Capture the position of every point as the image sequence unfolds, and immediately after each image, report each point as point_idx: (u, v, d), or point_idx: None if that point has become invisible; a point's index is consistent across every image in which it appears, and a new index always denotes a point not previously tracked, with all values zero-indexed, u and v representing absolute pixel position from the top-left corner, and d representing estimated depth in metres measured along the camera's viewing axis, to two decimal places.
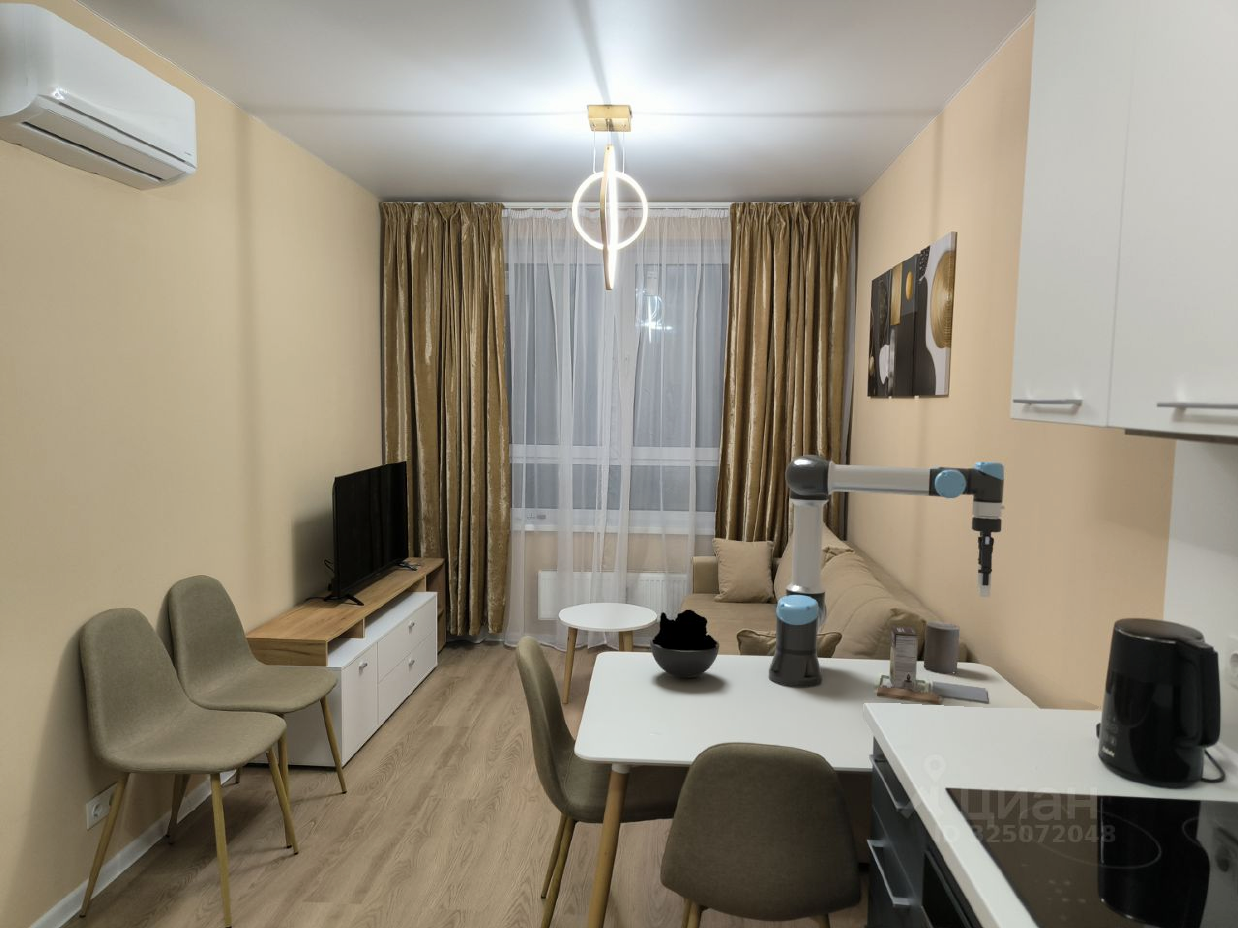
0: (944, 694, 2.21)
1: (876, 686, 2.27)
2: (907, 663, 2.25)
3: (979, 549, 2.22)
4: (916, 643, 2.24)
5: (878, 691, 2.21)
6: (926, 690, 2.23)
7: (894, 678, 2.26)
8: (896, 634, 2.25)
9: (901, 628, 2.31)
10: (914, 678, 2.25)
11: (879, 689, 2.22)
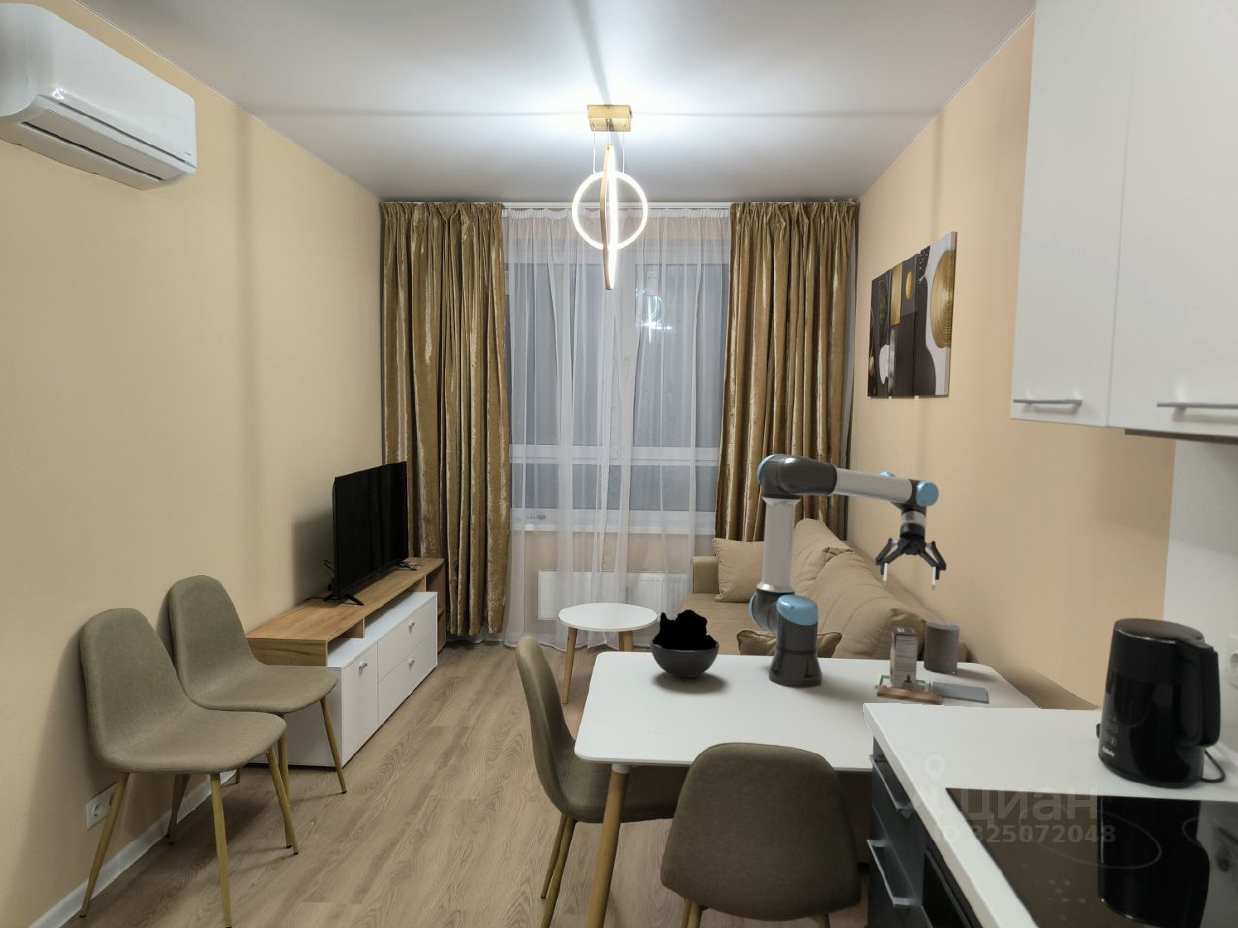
0: (944, 694, 2.21)
1: (876, 686, 2.27)
2: (907, 663, 2.25)
3: (924, 549, 2.43)
4: (917, 643, 2.24)
5: (878, 691, 2.21)
6: (926, 690, 2.23)
7: (894, 678, 2.26)
8: (896, 634, 2.25)
9: (901, 628, 2.31)
10: (914, 678, 2.25)
11: (879, 689, 2.22)
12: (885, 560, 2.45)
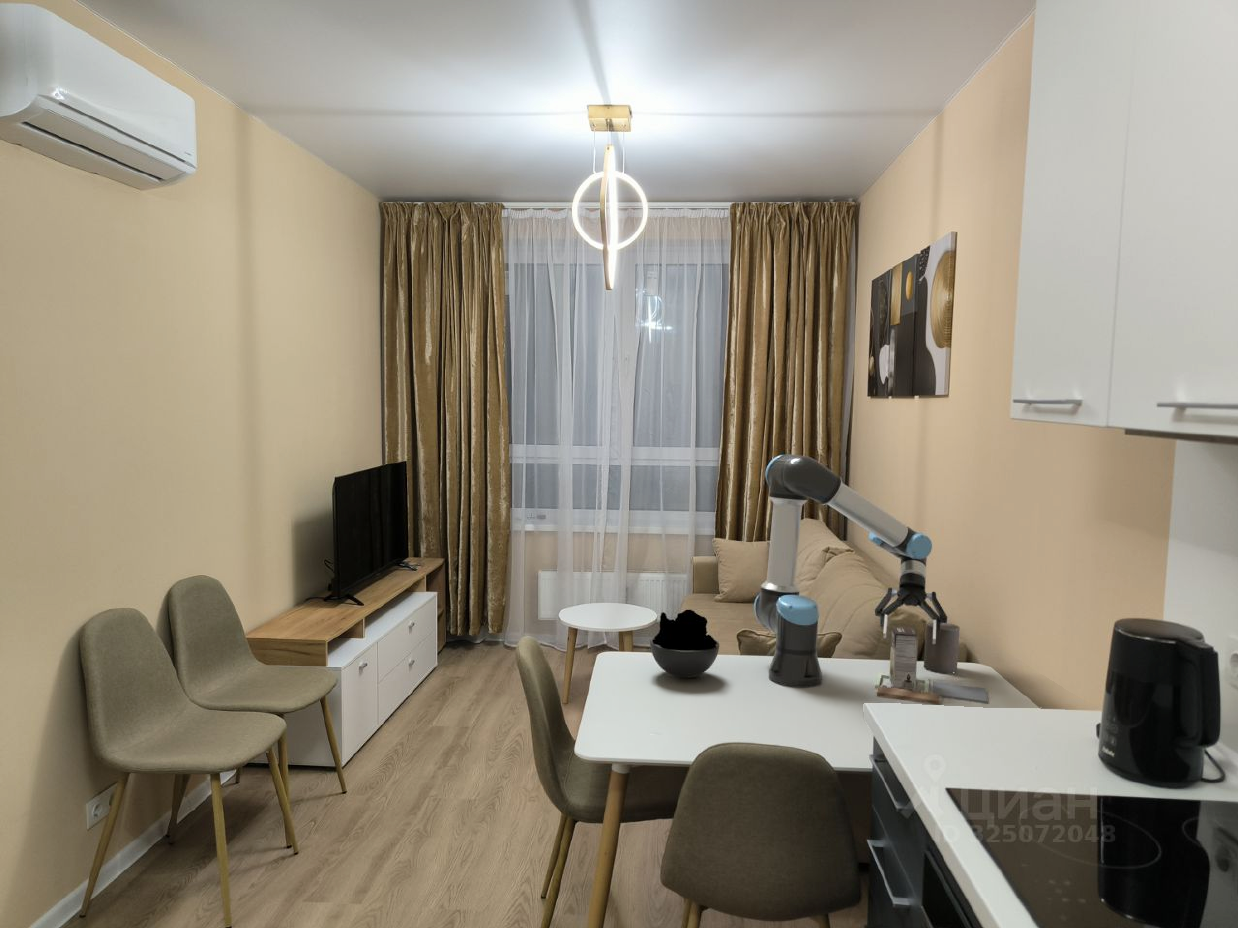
0: (944, 694, 2.21)
1: (876, 686, 2.27)
2: (907, 663, 2.25)
3: (924, 600, 2.39)
4: (917, 643, 2.24)
5: (878, 691, 2.21)
6: (926, 690, 2.23)
7: (894, 678, 2.26)
8: (896, 634, 2.25)
9: (901, 628, 2.31)
10: (914, 678, 2.25)
11: (879, 689, 2.22)
12: (885, 611, 2.41)
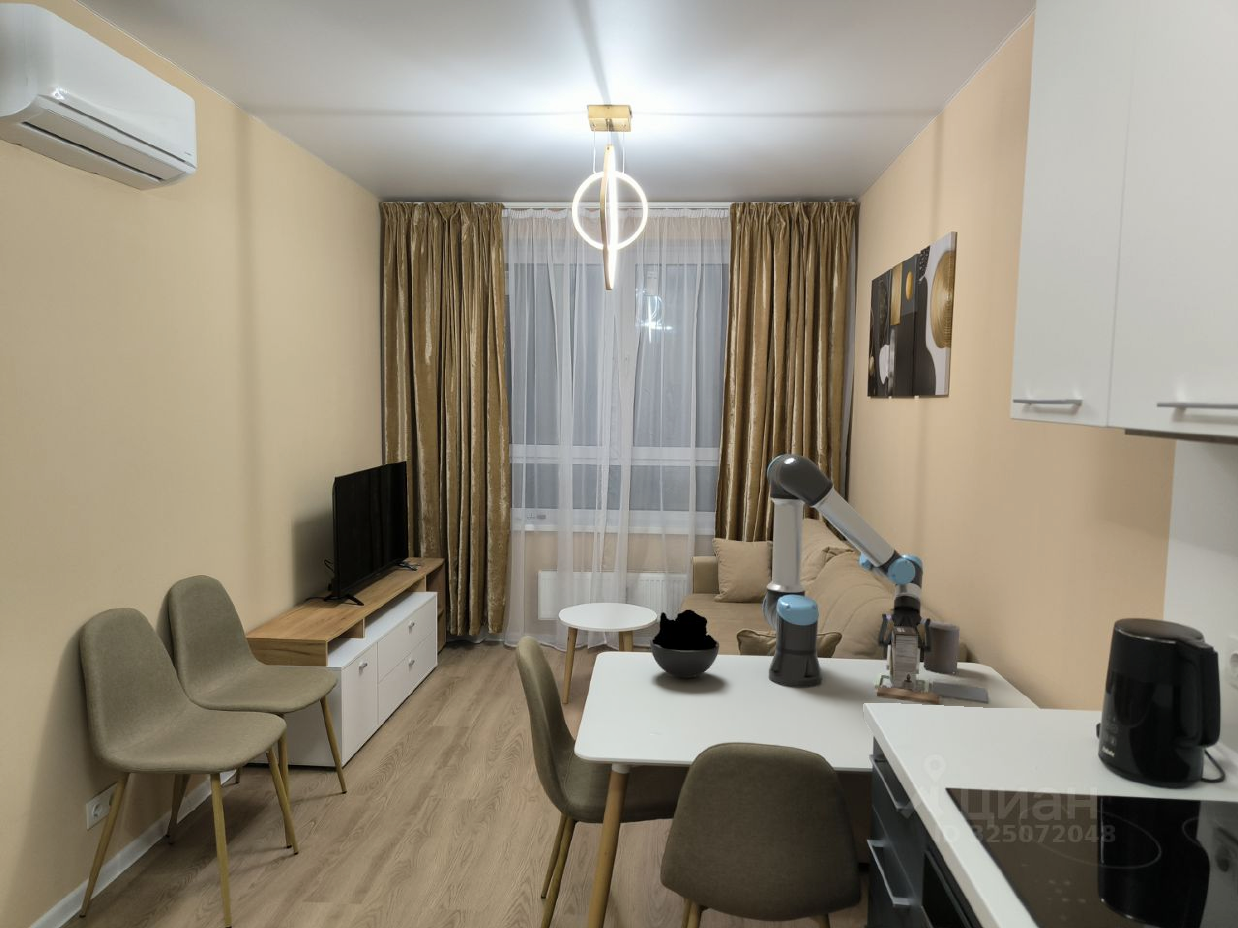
0: (944, 694, 2.21)
1: (876, 686, 2.27)
2: (907, 663, 2.25)
3: (915, 626, 2.32)
4: (916, 643, 2.24)
5: (878, 691, 2.21)
6: (926, 690, 2.23)
7: (894, 678, 2.26)
8: (896, 634, 2.25)
9: (901, 628, 2.31)
10: (914, 678, 2.25)
11: (879, 689, 2.22)
12: (888, 641, 2.32)
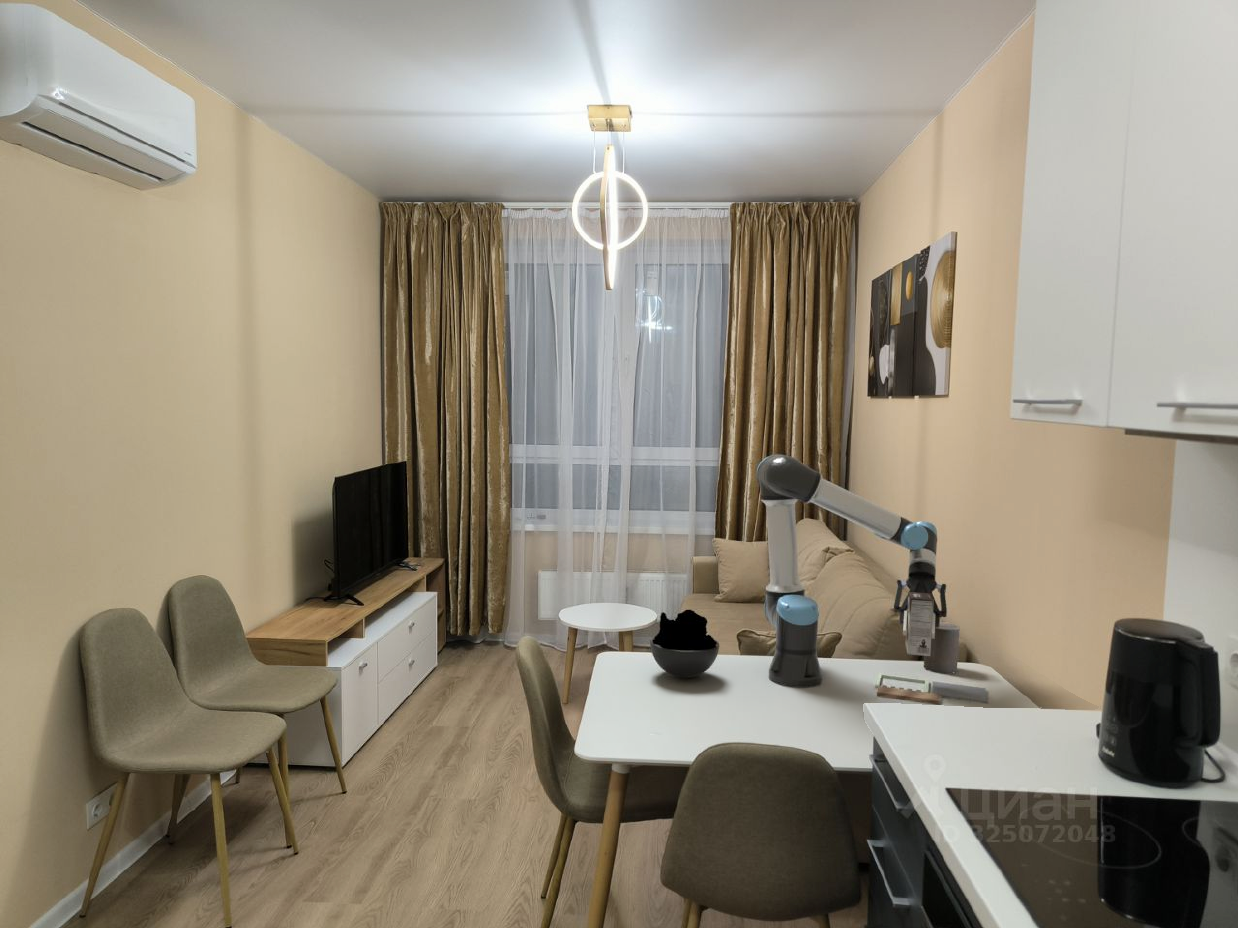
0: (944, 694, 2.21)
1: (876, 686, 2.27)
2: (922, 628, 2.23)
3: (931, 591, 2.31)
4: (932, 608, 2.23)
5: (878, 691, 2.21)
6: (926, 690, 2.23)
7: (909, 643, 2.25)
8: (911, 599, 2.24)
9: (917, 594, 2.29)
10: (929, 643, 2.23)
11: (879, 689, 2.22)
12: (904, 607, 2.30)
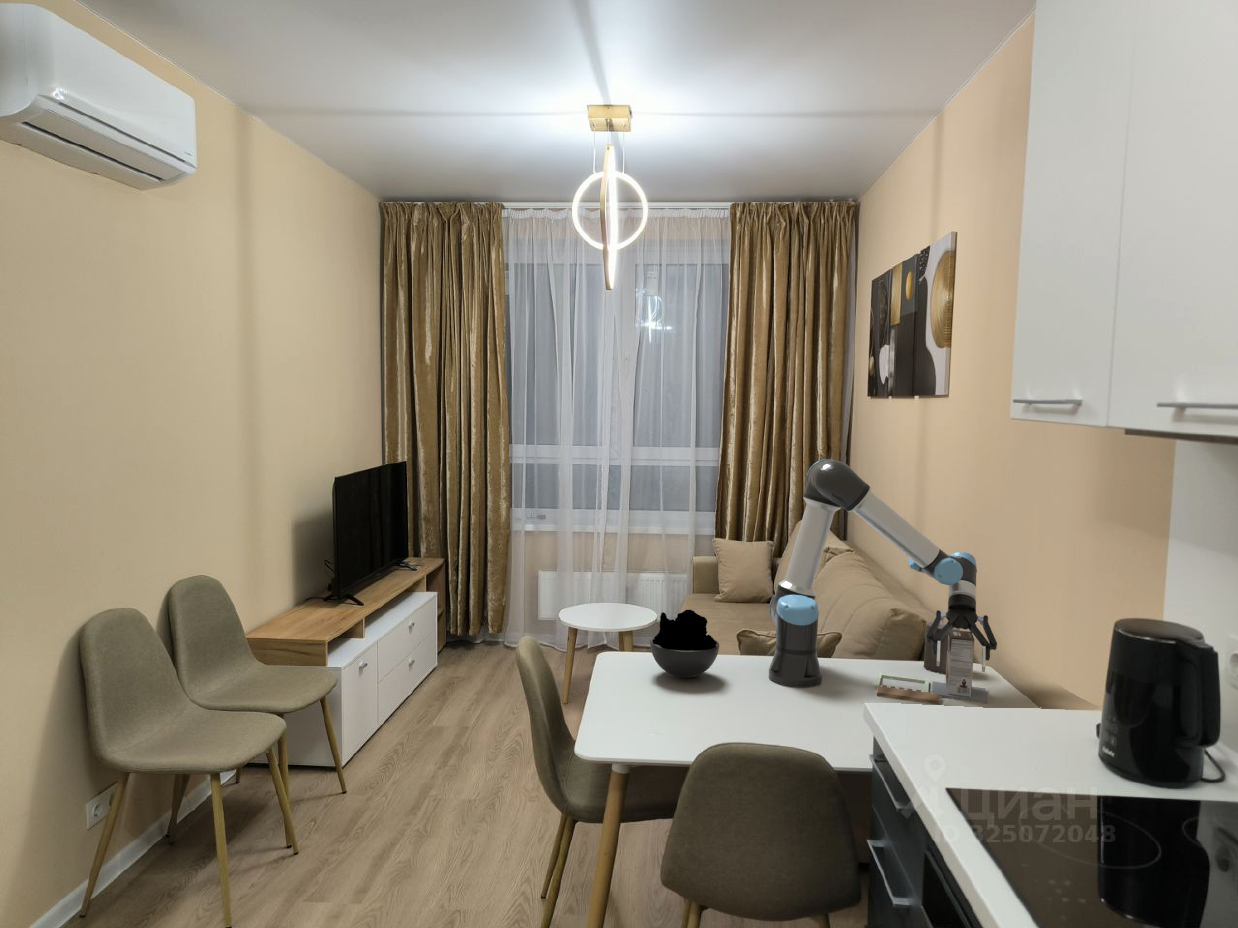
0: (944, 694, 2.21)
1: (876, 686, 2.27)
2: (962, 668, 2.19)
3: (974, 624, 2.27)
4: (973, 648, 2.18)
5: (878, 691, 2.21)
6: (926, 690, 2.23)
7: (949, 683, 2.21)
8: (951, 638, 2.20)
9: (958, 632, 2.25)
10: (970, 683, 2.19)
11: (879, 689, 2.22)
12: (937, 637, 2.27)
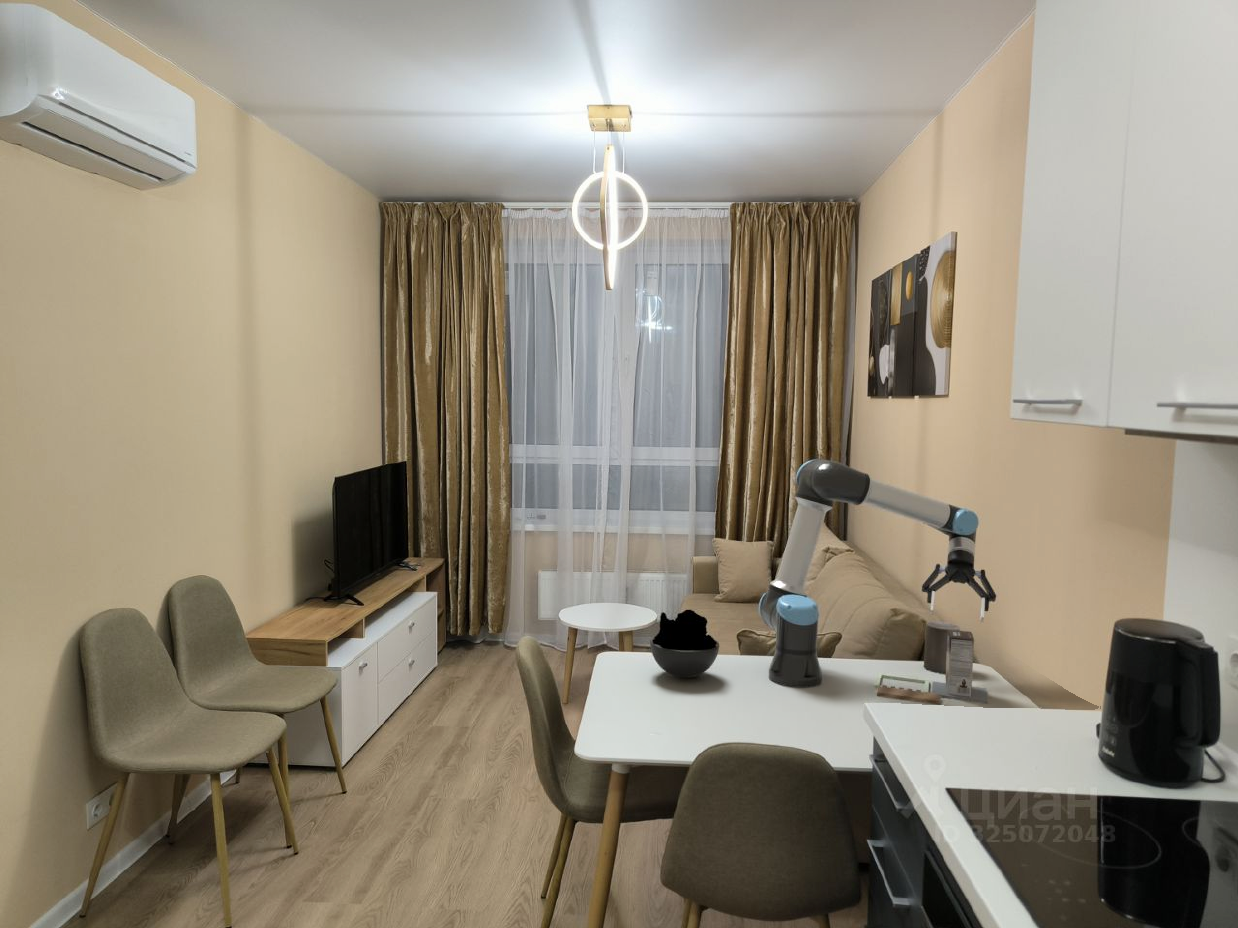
0: (944, 694, 2.21)
1: (876, 686, 2.27)
2: (962, 668, 2.19)
3: (973, 578, 2.38)
4: (972, 648, 2.18)
5: (878, 691, 2.21)
6: (926, 690, 2.23)
7: (949, 683, 2.21)
8: (951, 638, 2.20)
9: (957, 632, 2.25)
10: (970, 683, 2.19)
11: (879, 689, 2.22)
12: (932, 588, 2.39)
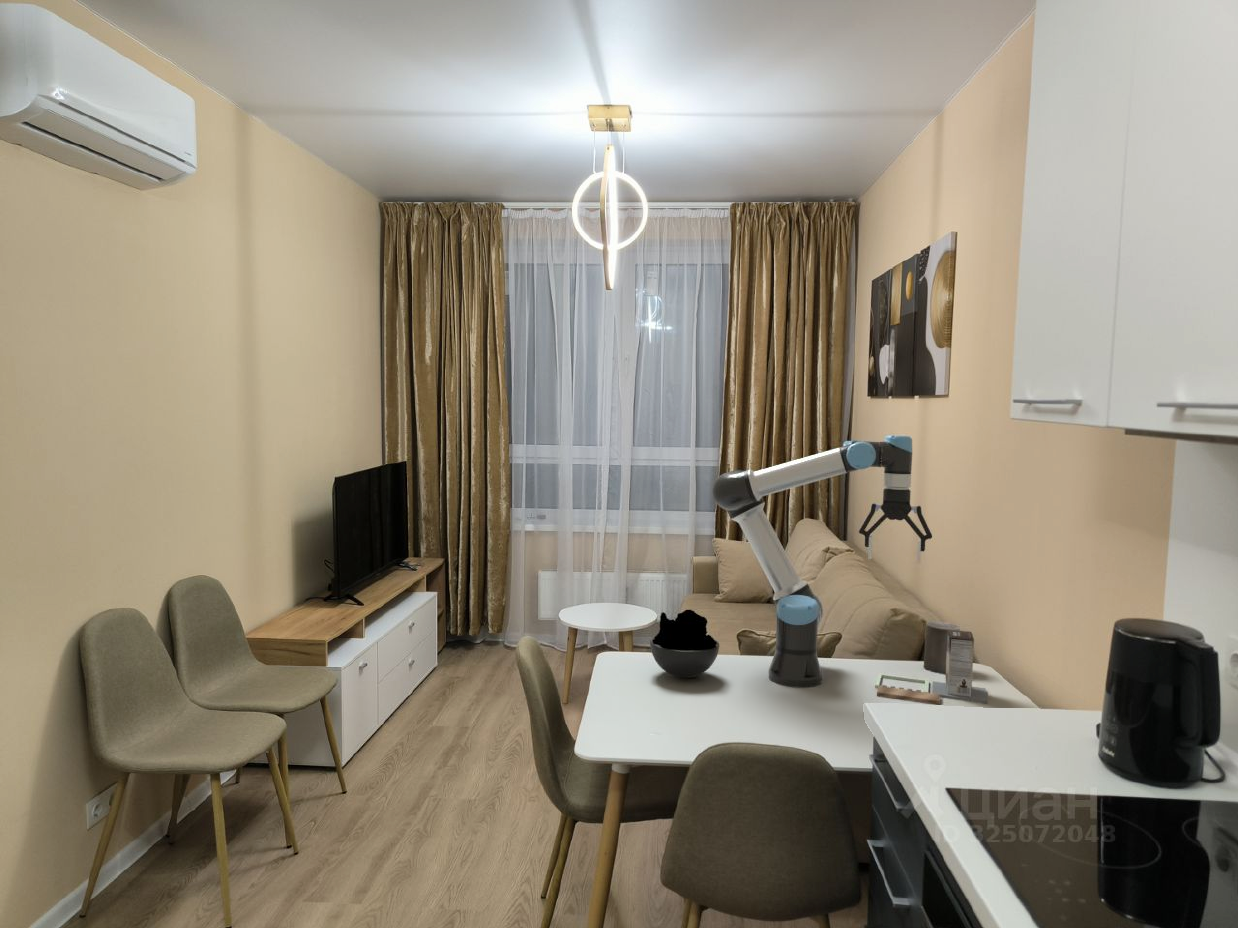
0: (944, 694, 2.21)
1: (876, 686, 2.27)
2: (962, 668, 2.19)
3: (908, 519, 2.32)
4: (972, 648, 2.18)
5: (878, 691, 2.21)
6: (926, 690, 2.23)
7: (949, 683, 2.21)
8: (951, 638, 2.20)
9: (957, 632, 2.25)
10: (970, 683, 2.19)
11: (879, 689, 2.22)
12: (869, 533, 2.37)
